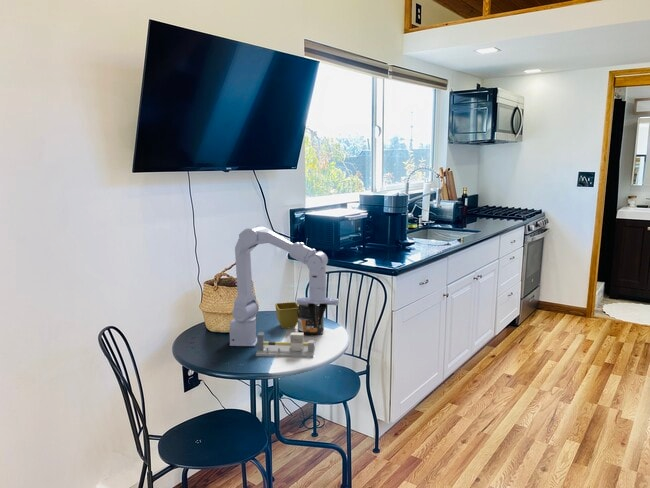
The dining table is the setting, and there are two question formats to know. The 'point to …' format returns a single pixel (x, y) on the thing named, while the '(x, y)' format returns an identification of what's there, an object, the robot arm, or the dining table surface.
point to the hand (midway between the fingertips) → (317, 324)
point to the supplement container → (309, 321)
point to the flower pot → (287, 314)
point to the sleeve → (297, 340)
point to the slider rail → (282, 348)
